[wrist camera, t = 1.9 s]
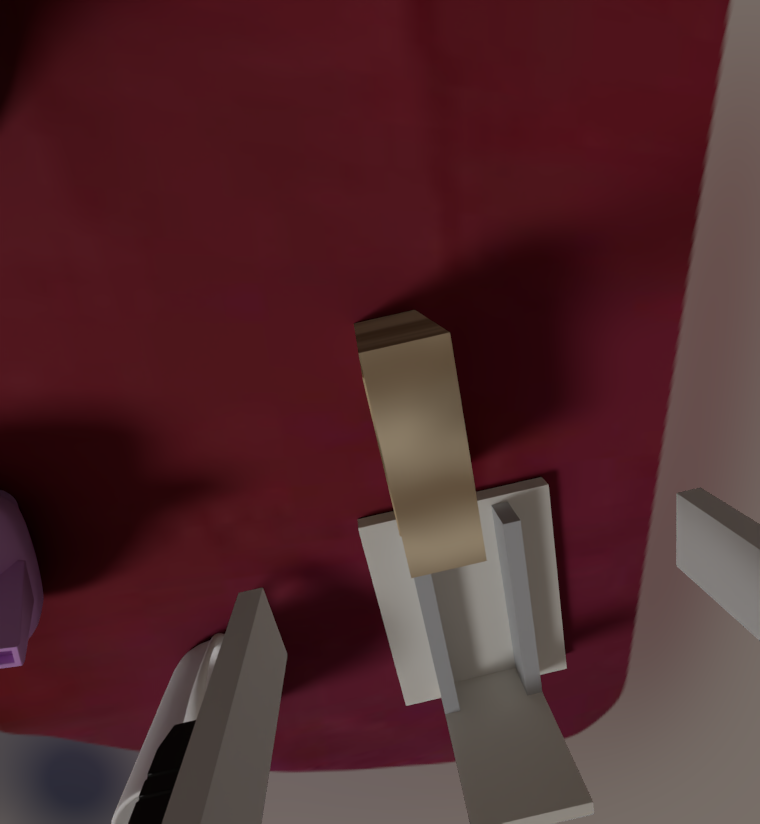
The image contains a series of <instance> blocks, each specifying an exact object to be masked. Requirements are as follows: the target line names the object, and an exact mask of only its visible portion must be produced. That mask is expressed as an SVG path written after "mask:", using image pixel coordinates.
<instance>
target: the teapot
mask: <svg viewBox="0 0 760 824" xmlns="http://www.w3.org/2000/svg"><path fill="white" fill-rule="evenodd" d="M43 600H44V598H43V587H42V581H41V576H40V570H39V566H38V561H37V557H36V553H35V550H34V547H33V543H32V540H31V537H30V534H29V531H28V528H27V525H26V523H25V520H24V518H23V516H22V513H21V512H20V510H19V507H18V503H17V501H16V500H15V498H14V497H13V496H12V495H10V494H9V493H7V492H5V491H3V490H0V668H7V667H15V666H22V665H23V663H24V662H25V656H26V650H27V643H28V639H29V638H30V637H31V636H32V634H33V632H34V631H35V629H36V627H37V625H38V623H39V619H40V616H41V612H42V606H43Z"/></svg>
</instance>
